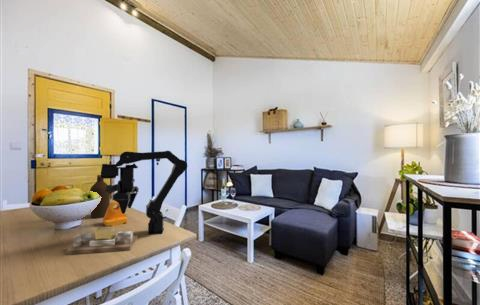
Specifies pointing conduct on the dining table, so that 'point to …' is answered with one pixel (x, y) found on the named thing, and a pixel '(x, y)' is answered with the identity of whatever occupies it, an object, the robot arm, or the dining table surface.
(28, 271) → the dining table surface
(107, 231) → the tan rectangular block
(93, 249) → the coupling base
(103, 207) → the olive oil
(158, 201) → the robot arm
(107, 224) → the bracket
